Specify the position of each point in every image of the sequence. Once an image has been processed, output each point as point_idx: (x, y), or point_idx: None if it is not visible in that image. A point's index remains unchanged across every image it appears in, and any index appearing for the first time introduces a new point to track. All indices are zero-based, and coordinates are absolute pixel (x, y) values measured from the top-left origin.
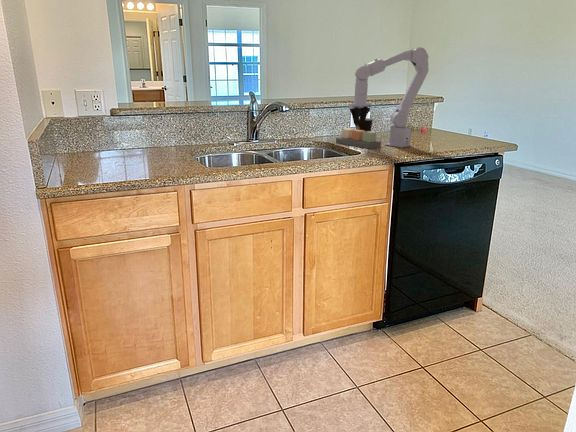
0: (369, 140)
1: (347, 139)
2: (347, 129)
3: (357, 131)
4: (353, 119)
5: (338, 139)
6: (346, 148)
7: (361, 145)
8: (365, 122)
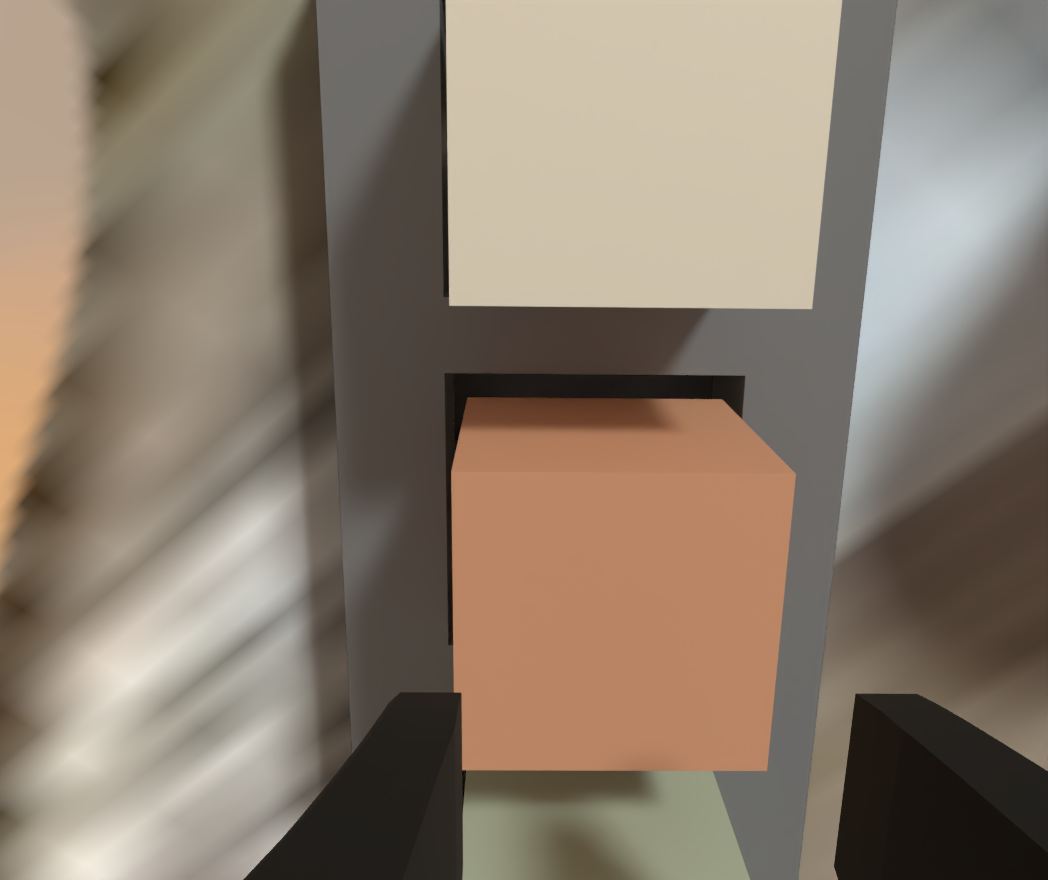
0: None
1: (380, 323)
2: (503, 198)
3: None
4: (321, 819)
5: (323, 11)
6: (36, 600)
7: None
8: None
